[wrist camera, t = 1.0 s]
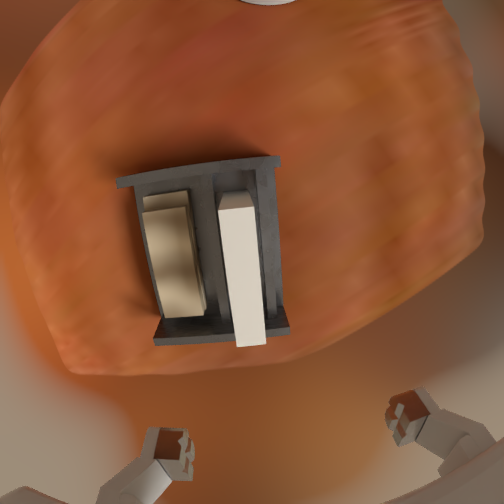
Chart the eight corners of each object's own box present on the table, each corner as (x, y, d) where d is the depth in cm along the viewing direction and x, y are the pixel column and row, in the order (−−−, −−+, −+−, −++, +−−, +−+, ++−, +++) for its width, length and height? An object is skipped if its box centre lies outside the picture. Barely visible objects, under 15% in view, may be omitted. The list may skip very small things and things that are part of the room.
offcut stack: (147, 195, 34) (137, 199, 30) (189, 188, 34) (183, 192, 31) (169, 305, 40) (163, 320, 36) (207, 302, 40) (204, 317, 36)
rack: (135, 173, 35) (115, 178, 28) (271, 155, 35) (279, 155, 28) (165, 318, 42) (155, 345, 35) (282, 307, 42) (290, 334, 36)
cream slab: (223, 192, 35) (218, 210, 23) (247, 189, 35) (254, 206, 24) (235, 293, 39) (237, 346, 28) (257, 291, 39) (266, 343, 28)
